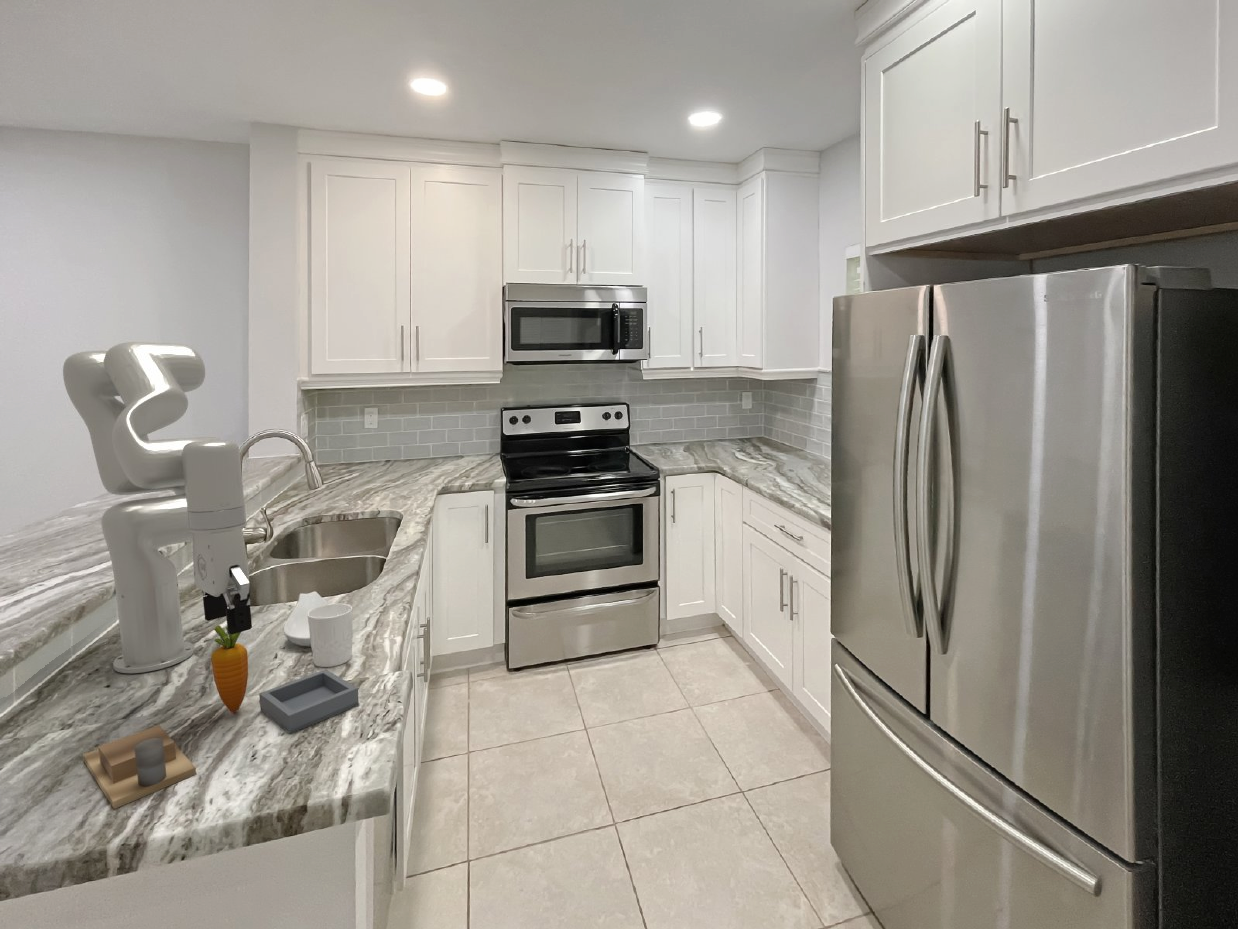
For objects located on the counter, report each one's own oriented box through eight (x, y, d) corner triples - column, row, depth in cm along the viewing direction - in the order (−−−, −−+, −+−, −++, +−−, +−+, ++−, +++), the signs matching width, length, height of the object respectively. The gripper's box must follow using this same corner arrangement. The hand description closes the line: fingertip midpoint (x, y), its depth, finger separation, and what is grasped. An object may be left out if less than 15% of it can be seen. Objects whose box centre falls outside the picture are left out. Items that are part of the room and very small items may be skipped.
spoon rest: (352, 645, 127) (350, 612, 126) (287, 659, 121) (285, 624, 120) (333, 610, 147) (331, 581, 146) (276, 620, 140) (274, 590, 139)
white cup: (340, 670, 115) (337, 619, 114) (301, 667, 116) (298, 617, 115) (362, 652, 123) (360, 604, 122) (326, 650, 124) (323, 602, 123)
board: (83, 761, 88) (78, 721, 87) (159, 733, 95) (155, 696, 94) (113, 809, 78) (108, 765, 77) (196, 774, 85) (192, 733, 84)
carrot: (259, 708, 102) (252, 621, 100) (231, 723, 97) (223, 633, 95) (237, 703, 104) (229, 617, 102) (209, 718, 99) (200, 629, 97)
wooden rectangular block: (100, 763, 86) (98, 746, 85) (160, 740, 91) (159, 725, 91) (113, 783, 81) (111, 766, 81) (176, 758, 87) (174, 742, 86)
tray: (260, 710, 101) (259, 693, 101) (327, 685, 110) (325, 669, 109) (290, 734, 94) (289, 715, 94) (358, 705, 103) (357, 688, 102)
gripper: (171, 517, 99) (182, 620, 101) (210, 530, 88) (222, 645, 90) (223, 509, 104) (233, 607, 106) (266, 521, 94) (276, 629, 96)
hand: (228, 624), depth 98 cm, fingers open, 9 cm apart
